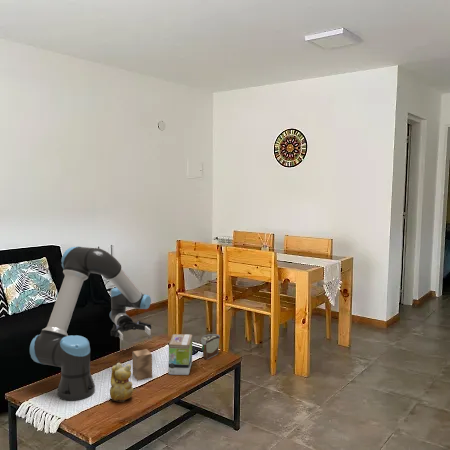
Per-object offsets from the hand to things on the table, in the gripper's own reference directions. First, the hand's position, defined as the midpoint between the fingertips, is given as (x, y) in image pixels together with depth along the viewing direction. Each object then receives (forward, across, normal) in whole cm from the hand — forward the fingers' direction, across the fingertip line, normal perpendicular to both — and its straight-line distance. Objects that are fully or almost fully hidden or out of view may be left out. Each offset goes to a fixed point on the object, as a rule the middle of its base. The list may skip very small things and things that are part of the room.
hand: (136, 334), depth 223 cm
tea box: (+10, -18, -17) cm, 27 cm away
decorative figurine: (+28, +16, -16) cm, 36 cm away
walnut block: (+10, +1, -16) cm, 19 cm away
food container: (+1, -37, -17) cm, 41 cm away
